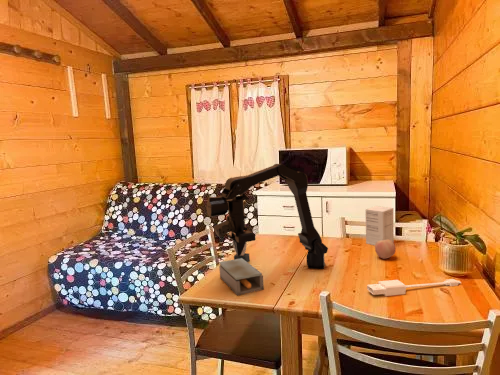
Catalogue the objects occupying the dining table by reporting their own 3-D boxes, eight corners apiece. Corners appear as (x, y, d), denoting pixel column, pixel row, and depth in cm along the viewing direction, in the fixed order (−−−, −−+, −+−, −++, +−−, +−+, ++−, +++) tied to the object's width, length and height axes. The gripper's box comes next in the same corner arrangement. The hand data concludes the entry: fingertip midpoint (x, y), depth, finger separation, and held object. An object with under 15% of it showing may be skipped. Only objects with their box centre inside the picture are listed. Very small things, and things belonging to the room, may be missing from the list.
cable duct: (244, 272, 142) (243, 260, 141) (263, 289, 126) (262, 275, 125) (220, 278, 138) (219, 265, 137) (237, 295, 122) (236, 281, 121)
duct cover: (242, 260, 141) (242, 258, 141) (261, 275, 125) (261, 273, 125) (219, 264, 137) (219, 262, 137) (236, 279, 121) (236, 277, 121)
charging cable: (464, 289, 119) (465, 280, 119) (373, 297, 114) (374, 287, 114) (453, 283, 124) (454, 274, 124) (366, 291, 119) (366, 281, 119)
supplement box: (376, 239, 176) (376, 205, 174) (394, 242, 169) (394, 207, 166) (365, 243, 170) (364, 208, 168) (383, 247, 163) (383, 211, 160)
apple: (392, 255, 153) (392, 236, 151) (398, 261, 145) (398, 242, 144) (373, 255, 153) (373, 237, 152) (377, 261, 146) (377, 242, 145)
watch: (232, 264, 152) (230, 239, 151) (239, 258, 160) (237, 234, 158) (244, 265, 150) (243, 240, 149) (251, 259, 158) (249, 234, 156)
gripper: (207, 211, 134) (210, 252, 136) (223, 221, 117) (226, 267, 119) (235, 207, 138) (237, 247, 140) (254, 216, 121) (257, 260, 123)
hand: (239, 255), depth 130 cm, fingers closed
